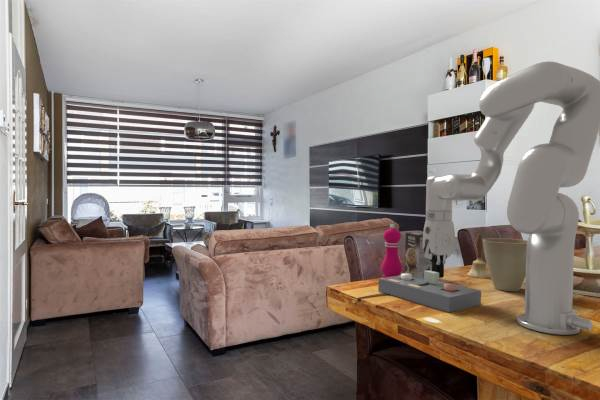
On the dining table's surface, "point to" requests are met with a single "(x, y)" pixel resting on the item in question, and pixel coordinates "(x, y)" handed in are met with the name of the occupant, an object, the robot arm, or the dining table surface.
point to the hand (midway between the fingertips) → (437, 276)
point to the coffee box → (415, 255)
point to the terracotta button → (449, 287)
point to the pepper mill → (391, 253)
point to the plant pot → (506, 262)
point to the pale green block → (431, 277)
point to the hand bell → (479, 262)
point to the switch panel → (430, 293)
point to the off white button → (406, 277)
